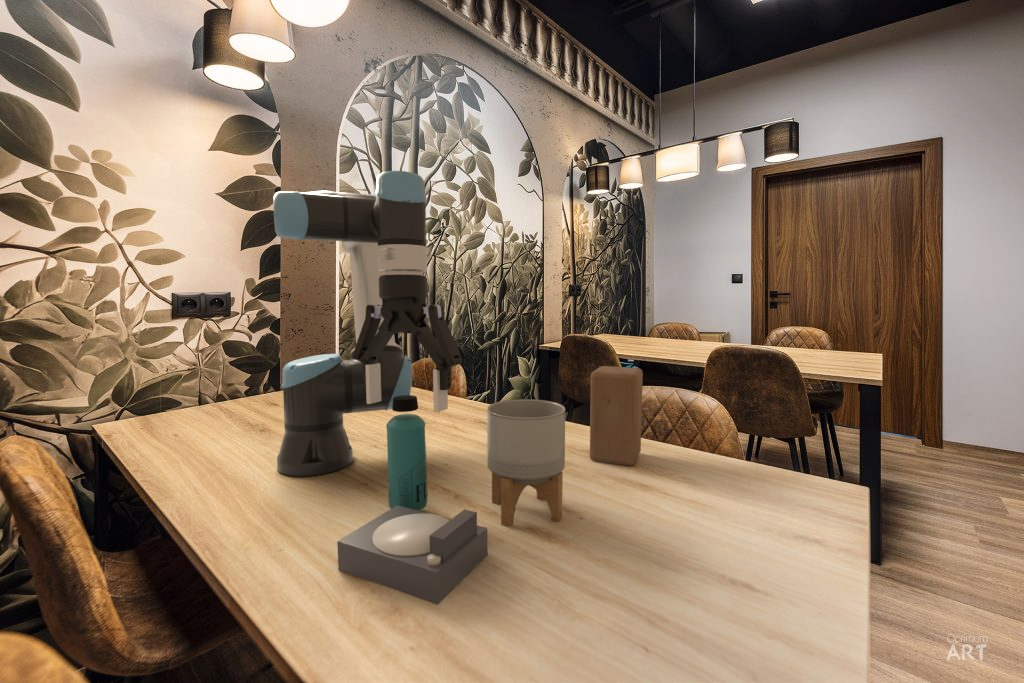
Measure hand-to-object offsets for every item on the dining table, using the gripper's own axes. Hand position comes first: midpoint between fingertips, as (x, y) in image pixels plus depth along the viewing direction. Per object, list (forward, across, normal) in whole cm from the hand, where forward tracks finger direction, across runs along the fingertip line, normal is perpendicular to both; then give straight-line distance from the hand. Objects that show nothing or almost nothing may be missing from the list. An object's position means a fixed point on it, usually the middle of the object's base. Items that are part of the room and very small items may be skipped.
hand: (406, 406), depth 77 cm
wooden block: (+18, +24, +43) cm, 53 cm away
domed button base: (+18, +10, -11) cm, 23 cm away
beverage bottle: (+19, 0, 0) cm, 19 cm away
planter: (+19, +17, +10) cm, 27 cm away
